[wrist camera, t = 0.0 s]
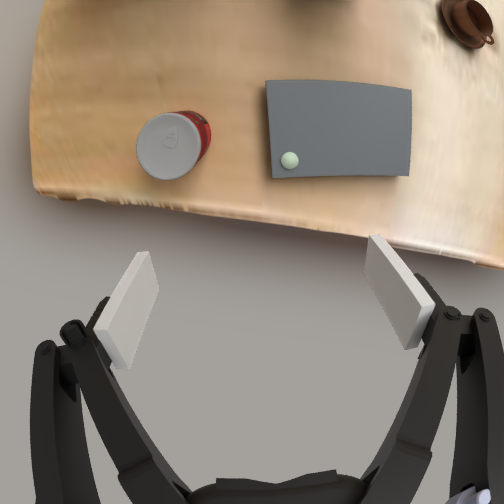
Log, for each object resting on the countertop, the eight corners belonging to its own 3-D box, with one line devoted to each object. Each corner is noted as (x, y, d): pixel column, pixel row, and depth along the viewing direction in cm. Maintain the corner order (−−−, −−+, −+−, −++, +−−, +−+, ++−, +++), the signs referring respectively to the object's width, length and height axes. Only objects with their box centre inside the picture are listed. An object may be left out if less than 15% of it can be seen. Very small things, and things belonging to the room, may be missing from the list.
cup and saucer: (481, 17, 23) (500, 15, 17) (478, 60, 29) (499, 60, 23) (438, -17, 21) (456, -24, 16) (433, 26, 27) (454, 21, 22)
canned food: (213, 110, 37) (202, 112, 27) (210, 162, 40) (198, 182, 31) (162, 110, 36) (135, 113, 26) (161, 161, 40) (136, 180, 30)
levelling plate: (264, 82, 34) (266, 80, 32) (401, 90, 34) (412, 90, 31) (270, 173, 41) (272, 178, 38) (400, 171, 41) (410, 176, 38)
